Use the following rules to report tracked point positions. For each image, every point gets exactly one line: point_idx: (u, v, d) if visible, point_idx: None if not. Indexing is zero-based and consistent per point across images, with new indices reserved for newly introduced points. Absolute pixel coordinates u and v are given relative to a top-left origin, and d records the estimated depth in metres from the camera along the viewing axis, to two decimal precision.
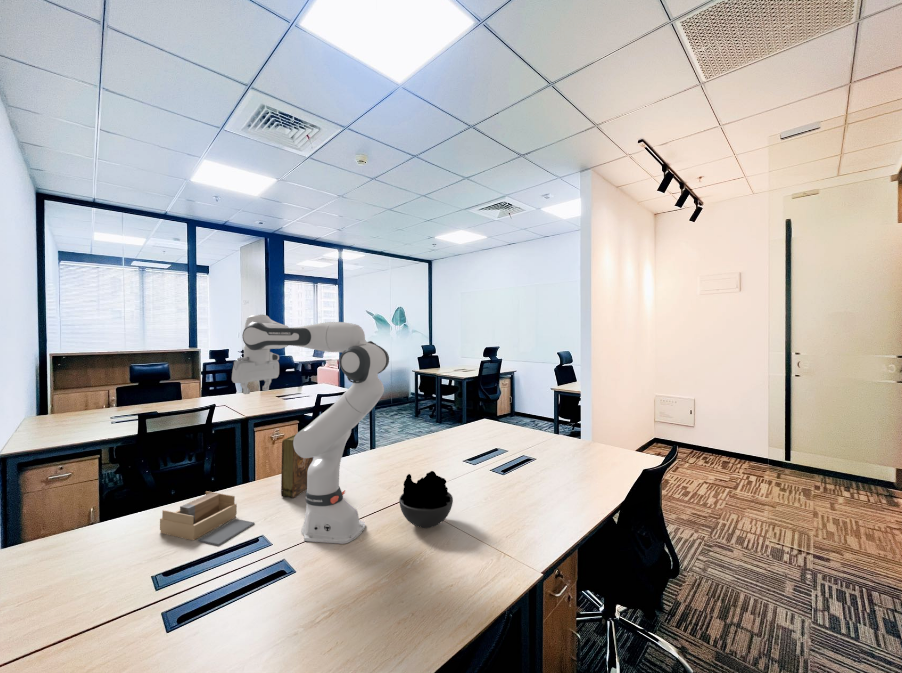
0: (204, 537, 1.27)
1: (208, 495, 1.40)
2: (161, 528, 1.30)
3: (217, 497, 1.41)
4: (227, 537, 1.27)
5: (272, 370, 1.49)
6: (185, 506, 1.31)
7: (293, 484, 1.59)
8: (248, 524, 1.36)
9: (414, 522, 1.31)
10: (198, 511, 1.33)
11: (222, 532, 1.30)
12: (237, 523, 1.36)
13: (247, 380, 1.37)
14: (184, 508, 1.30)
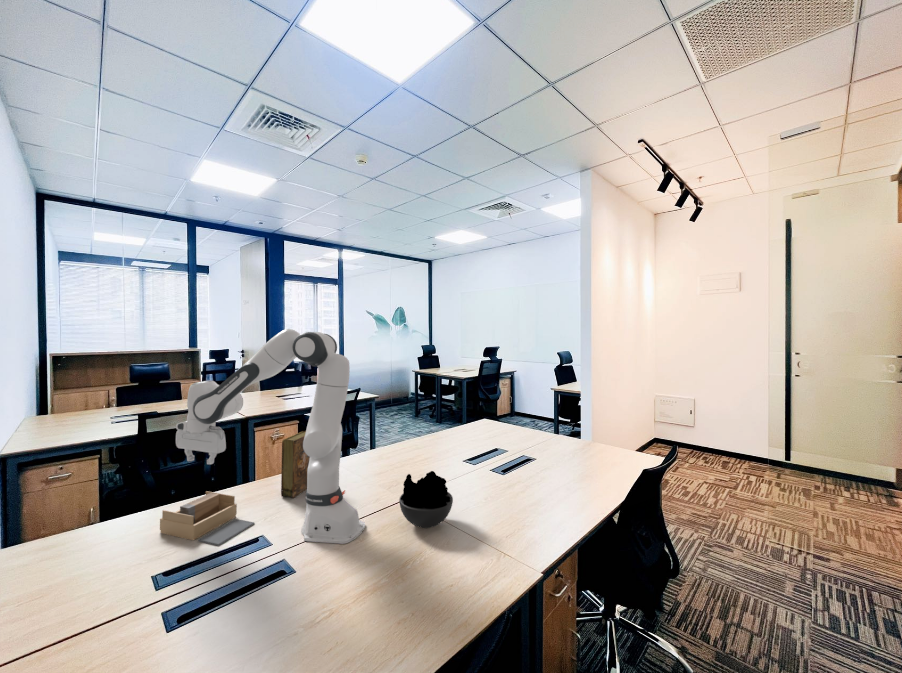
0: (204, 537, 1.27)
1: (208, 495, 1.40)
2: (161, 528, 1.30)
3: (217, 497, 1.41)
4: (227, 537, 1.27)
5: None
6: (185, 506, 1.31)
7: (293, 484, 1.59)
8: (248, 524, 1.36)
9: (414, 522, 1.31)
10: (198, 511, 1.33)
11: (222, 532, 1.30)
12: (237, 523, 1.36)
13: None
14: (184, 508, 1.30)
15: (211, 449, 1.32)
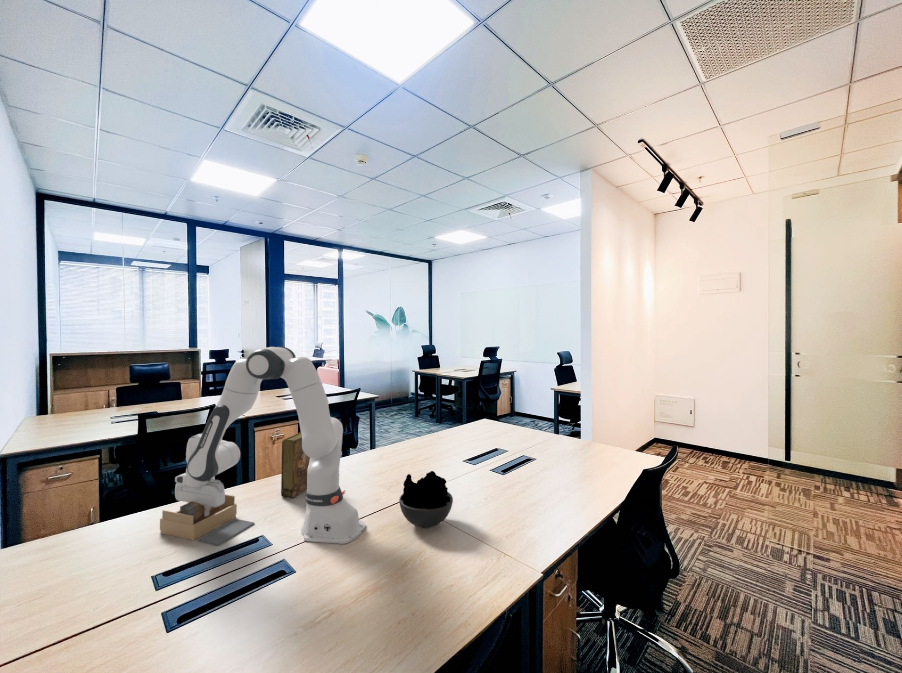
0: (204, 537, 1.27)
1: None
2: (161, 528, 1.30)
3: None
4: (227, 537, 1.27)
5: None
6: (185, 506, 1.31)
7: (293, 484, 1.59)
8: (248, 524, 1.36)
9: (414, 522, 1.31)
10: (198, 511, 1.33)
11: (222, 532, 1.30)
12: (237, 523, 1.36)
13: None
14: (184, 508, 1.30)
15: (210, 503, 1.32)
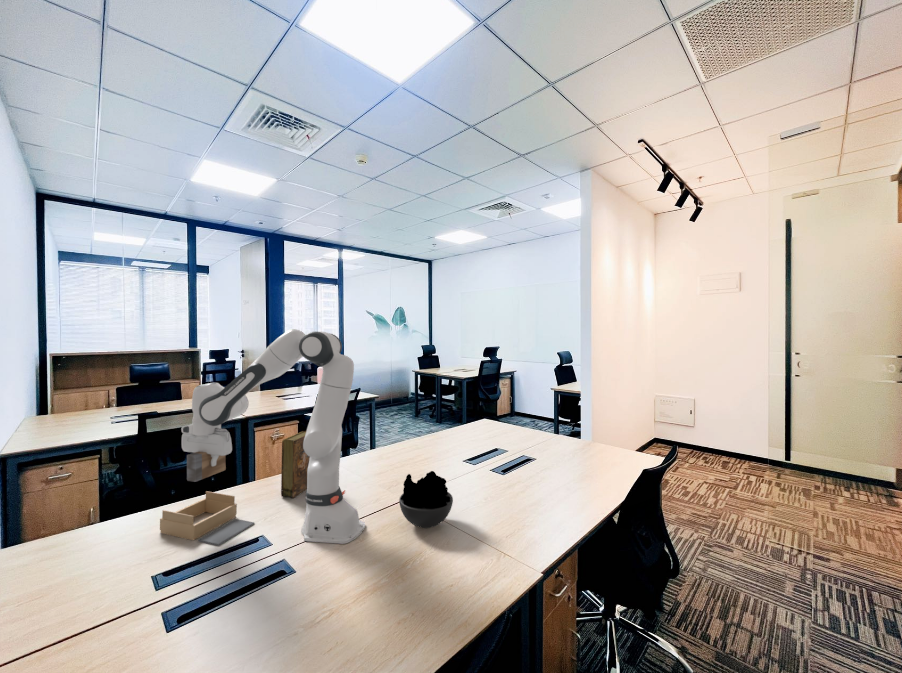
0: (204, 537, 1.27)
1: None
2: (161, 528, 1.30)
3: None
4: (227, 537, 1.27)
5: None
6: (192, 454, 1.30)
7: (293, 484, 1.59)
8: (248, 524, 1.36)
9: (414, 522, 1.31)
10: (204, 460, 1.32)
11: (222, 532, 1.30)
12: (237, 523, 1.36)
13: None
14: (191, 456, 1.29)
15: (217, 451, 1.31)
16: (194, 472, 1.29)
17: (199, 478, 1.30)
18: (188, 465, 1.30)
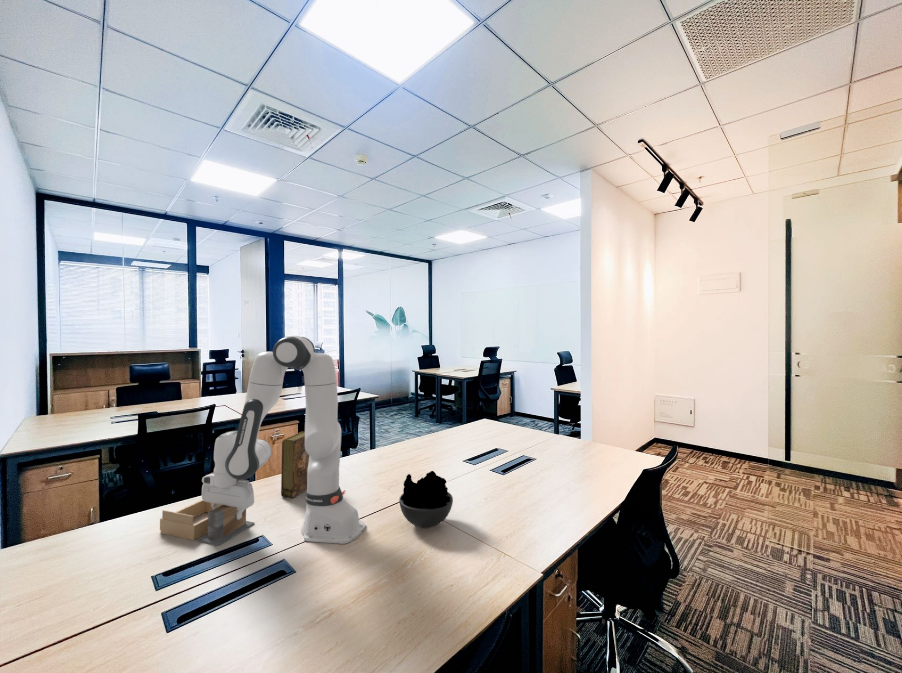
0: (204, 537, 1.27)
1: None
2: (161, 528, 1.30)
3: None
4: (227, 537, 1.27)
5: None
6: (214, 512, 1.26)
7: (293, 484, 1.59)
8: (248, 524, 1.36)
9: (414, 522, 1.31)
10: (226, 517, 1.28)
11: None
12: None
13: None
14: (212, 514, 1.25)
15: (239, 504, 1.27)
16: (216, 530, 1.25)
17: (220, 536, 1.26)
18: (209, 523, 1.26)
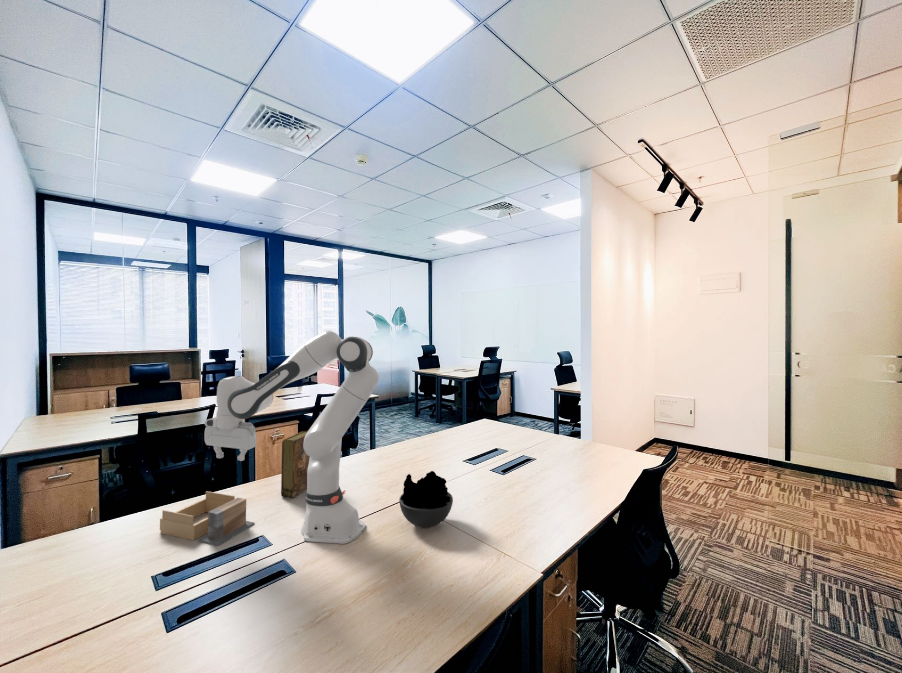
0: (204, 537, 1.27)
1: (235, 500, 1.35)
2: (161, 528, 1.30)
3: (244, 502, 1.36)
4: (227, 537, 1.27)
5: None
6: (214, 512, 1.26)
7: (293, 484, 1.59)
8: (248, 524, 1.36)
9: (414, 522, 1.31)
10: (226, 517, 1.28)
11: None
12: None
13: None
14: (212, 514, 1.25)
15: (242, 445, 1.30)
16: (216, 530, 1.25)
17: (220, 536, 1.26)
18: (209, 523, 1.26)
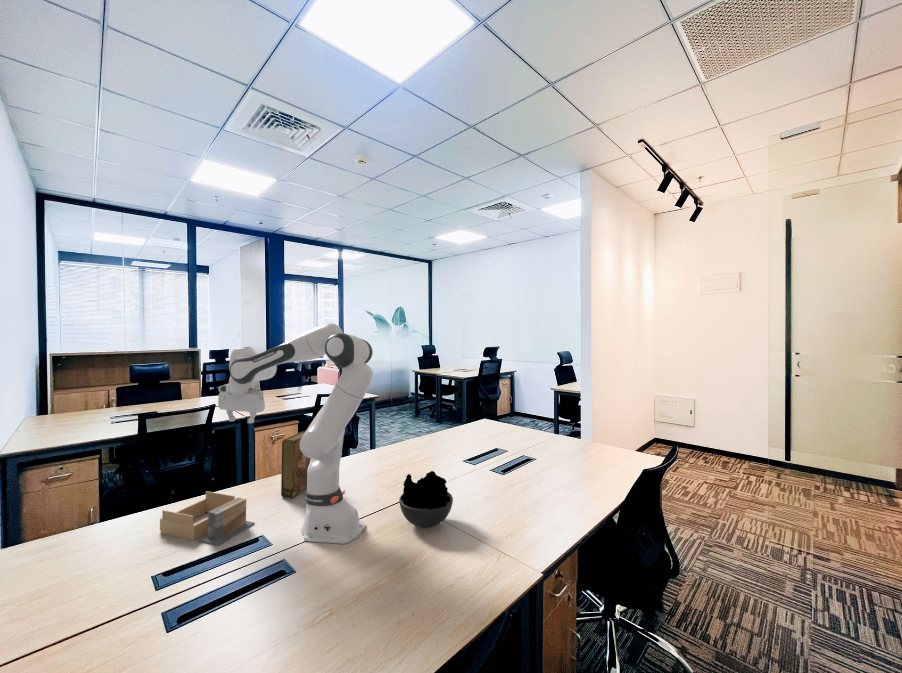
0: (204, 537, 1.27)
1: (235, 500, 1.35)
2: (161, 528, 1.30)
3: (244, 502, 1.36)
4: (227, 537, 1.27)
5: None
6: (214, 512, 1.26)
7: (293, 484, 1.59)
8: (248, 524, 1.36)
9: (414, 522, 1.31)
10: (226, 517, 1.28)
11: None
12: None
13: None
14: (212, 514, 1.25)
15: (252, 409, 1.45)
16: (216, 530, 1.25)
17: (220, 536, 1.26)
18: (209, 523, 1.26)
